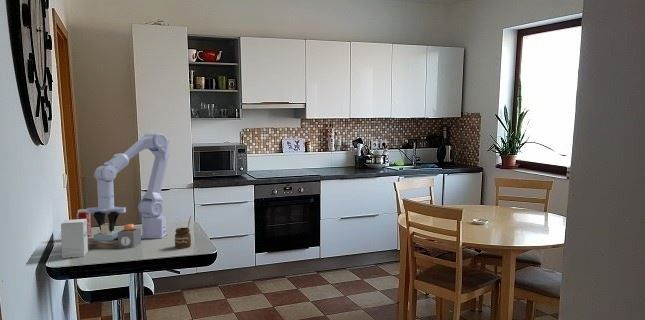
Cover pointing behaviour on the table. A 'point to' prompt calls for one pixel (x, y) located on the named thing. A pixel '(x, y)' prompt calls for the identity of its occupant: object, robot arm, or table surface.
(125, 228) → the button
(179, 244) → the brown jar with straw
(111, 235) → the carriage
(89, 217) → the soda can
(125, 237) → the cabinet
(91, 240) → the rail track
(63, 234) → the supplement box
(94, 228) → the table surface
